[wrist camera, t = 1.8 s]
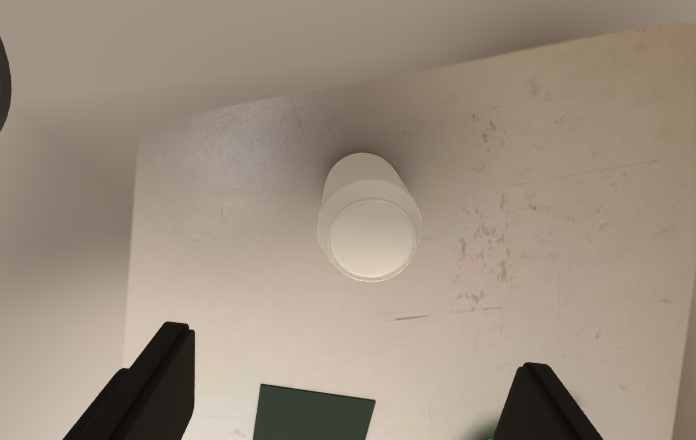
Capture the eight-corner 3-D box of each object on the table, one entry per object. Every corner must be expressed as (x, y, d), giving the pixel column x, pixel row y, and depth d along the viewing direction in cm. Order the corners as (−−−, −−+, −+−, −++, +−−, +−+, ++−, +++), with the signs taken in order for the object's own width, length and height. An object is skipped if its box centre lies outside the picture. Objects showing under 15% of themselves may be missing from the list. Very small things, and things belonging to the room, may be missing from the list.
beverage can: (409, 204, 32) (445, 267, 21) (344, 232, 33) (344, 308, 22) (381, 137, 30) (403, 167, 19) (312, 169, 31) (294, 216, 20)
